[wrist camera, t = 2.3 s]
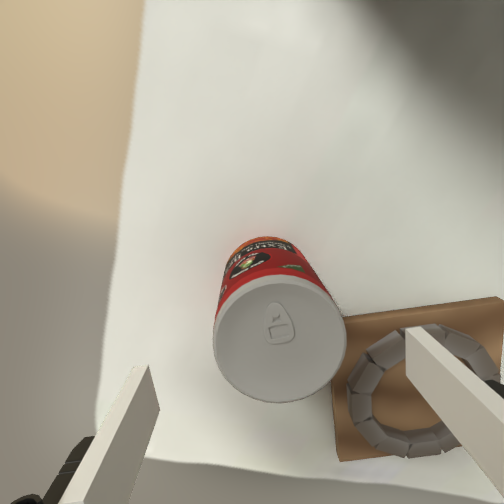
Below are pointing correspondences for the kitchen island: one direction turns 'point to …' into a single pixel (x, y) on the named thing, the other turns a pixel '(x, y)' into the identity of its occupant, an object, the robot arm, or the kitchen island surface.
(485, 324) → the socket board
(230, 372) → the canned food
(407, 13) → the kitchen island surface
